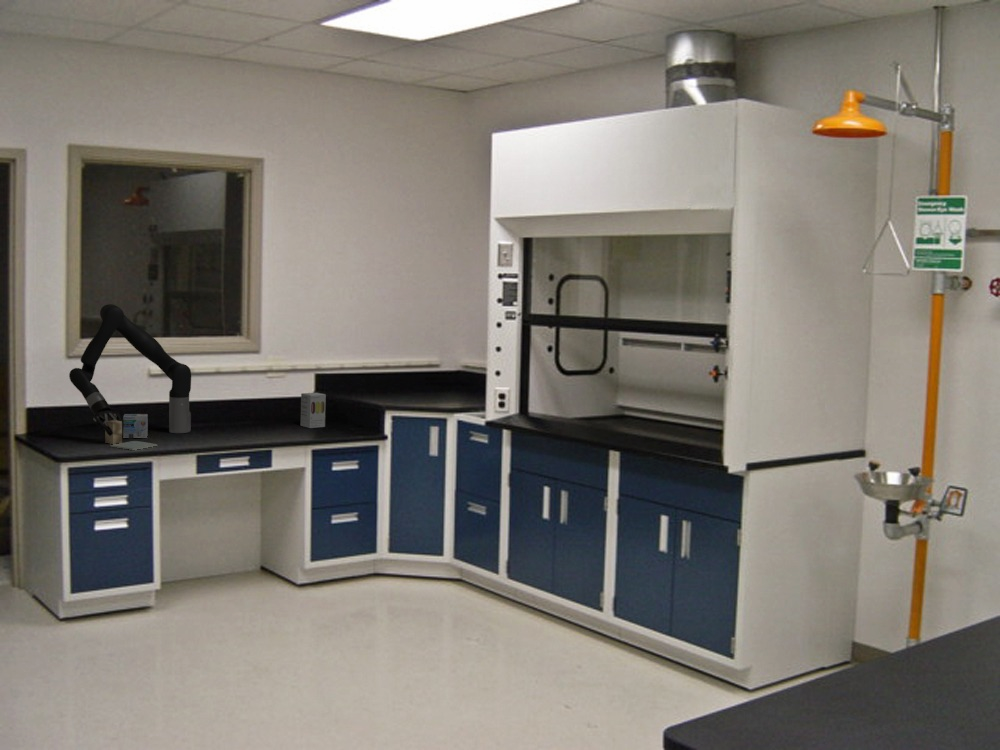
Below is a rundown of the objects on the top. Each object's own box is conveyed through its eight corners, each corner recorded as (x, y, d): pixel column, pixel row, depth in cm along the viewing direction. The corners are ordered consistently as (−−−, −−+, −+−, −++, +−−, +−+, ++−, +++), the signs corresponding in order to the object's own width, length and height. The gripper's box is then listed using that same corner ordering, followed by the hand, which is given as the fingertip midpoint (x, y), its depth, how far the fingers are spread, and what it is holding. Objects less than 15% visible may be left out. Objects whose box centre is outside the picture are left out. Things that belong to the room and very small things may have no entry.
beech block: (114, 442, 488) (114, 420, 486) (122, 443, 485) (121, 421, 484) (105, 443, 483) (105, 421, 482) (113, 444, 481) (112, 422, 480)
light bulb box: (122, 439, 495) (122, 416, 494) (123, 436, 502) (123, 413, 500) (147, 439, 498) (147, 415, 497) (147, 436, 505) (147, 413, 503)
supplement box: (309, 428, 543) (310, 395, 541) (299, 425, 550) (300, 393, 548) (325, 426, 550) (326, 394, 548) (315, 424, 557) (316, 392, 555)
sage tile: (135, 442, 487) (135, 440, 487) (157, 446, 480) (157, 444, 480) (110, 447, 475) (110, 444, 475) (132, 451, 468) (132, 448, 468)
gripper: (88, 400, 479) (107, 430, 475) (114, 397, 492) (133, 426, 487) (80, 411, 483) (99, 441, 478) (106, 407, 495) (125, 436, 490)
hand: (116, 433), depth 483 cm, fingers closed on beech block, 5 cm apart
